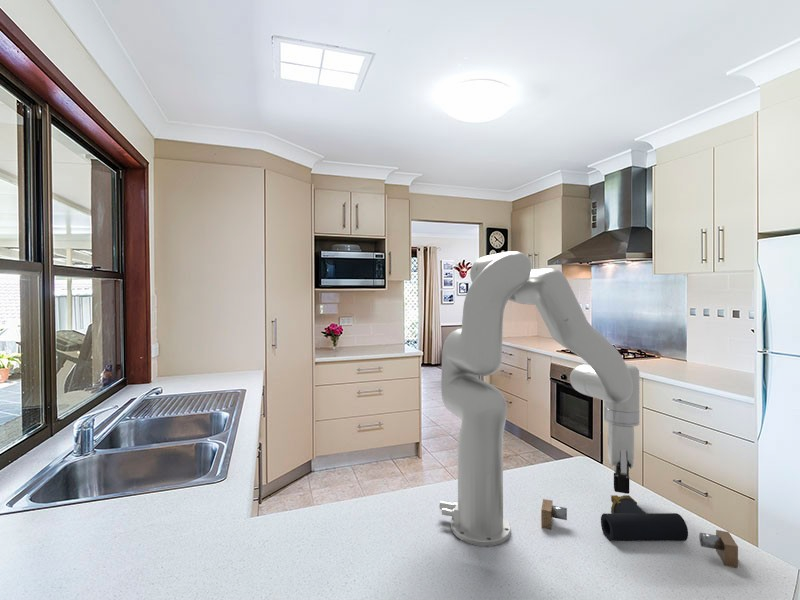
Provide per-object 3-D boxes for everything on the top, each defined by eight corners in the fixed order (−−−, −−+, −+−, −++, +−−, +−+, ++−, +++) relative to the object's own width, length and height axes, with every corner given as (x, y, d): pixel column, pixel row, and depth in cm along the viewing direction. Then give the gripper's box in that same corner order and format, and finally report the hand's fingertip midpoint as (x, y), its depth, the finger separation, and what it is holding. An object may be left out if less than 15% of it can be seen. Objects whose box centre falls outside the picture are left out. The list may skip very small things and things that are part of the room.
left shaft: (541, 528, 88) (541, 509, 88) (543, 516, 93) (543, 498, 93) (566, 533, 86) (566, 514, 86) (566, 521, 91) (566, 503, 91)
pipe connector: (587, 492, 94) (653, 492, 93) (586, 515, 94) (652, 515, 94) (612, 521, 82) (688, 521, 82) (612, 547, 82) (688, 547, 82)
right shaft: (704, 561, 77) (704, 540, 77) (697, 546, 82) (697, 526, 81) (738, 568, 75) (738, 546, 75) (728, 552, 80) (728, 532, 80)
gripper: (602, 406, 107) (602, 476, 108) (606, 422, 94) (606, 502, 94) (634, 409, 105) (634, 481, 105) (644, 426, 91) (644, 509, 91)
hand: (621, 491), depth 99 cm, fingers closed
